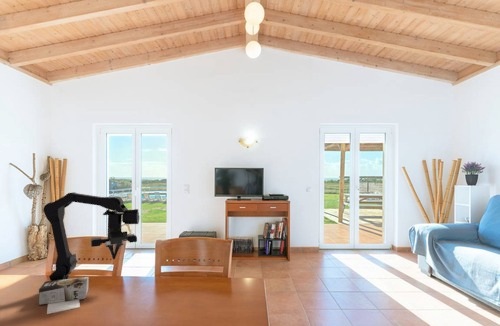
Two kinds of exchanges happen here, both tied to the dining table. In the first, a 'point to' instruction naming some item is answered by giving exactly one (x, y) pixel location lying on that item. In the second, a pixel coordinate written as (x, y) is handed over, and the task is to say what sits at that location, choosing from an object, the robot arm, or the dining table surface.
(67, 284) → the coffee box
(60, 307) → the mat
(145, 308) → the dining table surface
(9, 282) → the dining table surface
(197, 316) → the dining table surface
